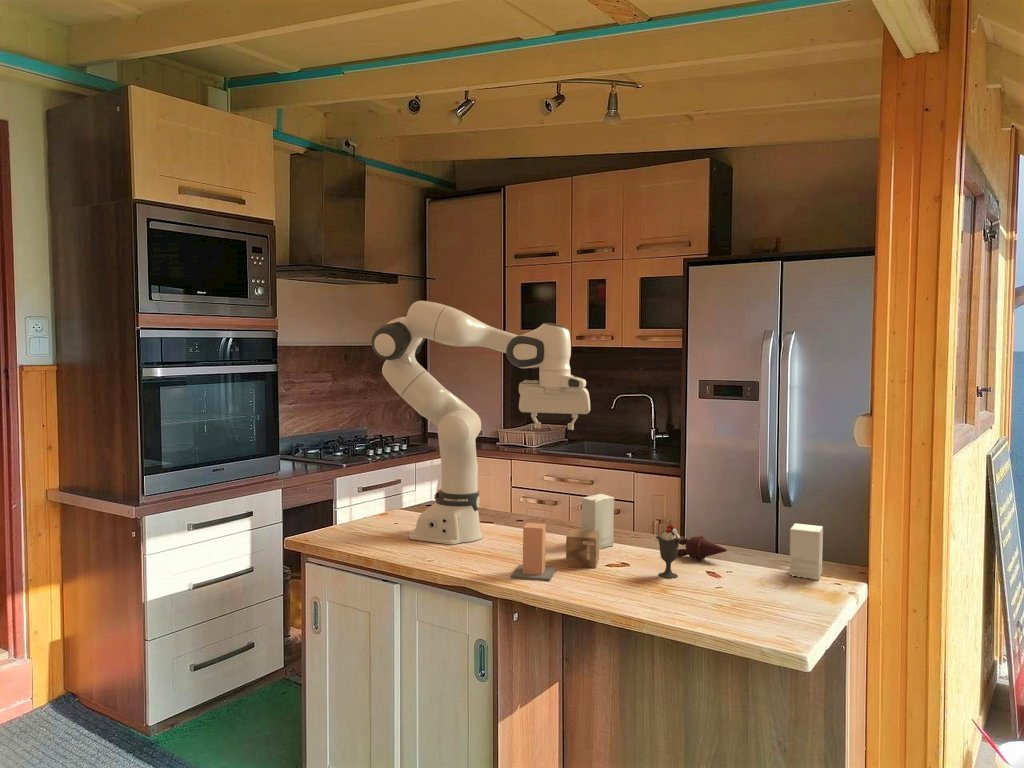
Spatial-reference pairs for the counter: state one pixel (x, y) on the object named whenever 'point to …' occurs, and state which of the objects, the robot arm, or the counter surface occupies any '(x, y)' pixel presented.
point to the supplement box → (806, 551)
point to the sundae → (669, 549)
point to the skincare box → (599, 517)
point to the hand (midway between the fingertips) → (554, 429)
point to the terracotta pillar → (534, 548)
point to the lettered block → (582, 548)
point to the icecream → (699, 548)
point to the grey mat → (545, 576)
